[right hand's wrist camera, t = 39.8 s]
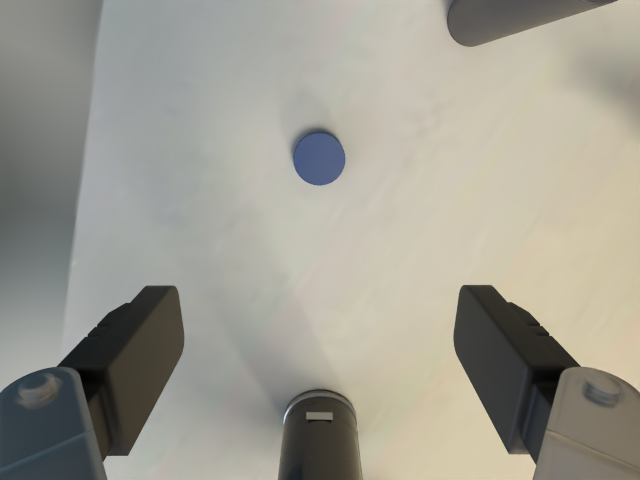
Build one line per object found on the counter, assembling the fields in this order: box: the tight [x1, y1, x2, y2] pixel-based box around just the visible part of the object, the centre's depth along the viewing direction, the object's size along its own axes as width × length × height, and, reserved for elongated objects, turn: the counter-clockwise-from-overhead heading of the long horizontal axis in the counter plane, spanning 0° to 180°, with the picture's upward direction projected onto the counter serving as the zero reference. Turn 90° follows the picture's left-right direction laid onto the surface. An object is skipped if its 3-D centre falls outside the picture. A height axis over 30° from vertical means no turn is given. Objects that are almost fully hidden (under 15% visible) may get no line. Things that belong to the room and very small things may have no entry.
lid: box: [294, 132, 345, 185], centre depth 38 cm, size 5×5×2 cm
